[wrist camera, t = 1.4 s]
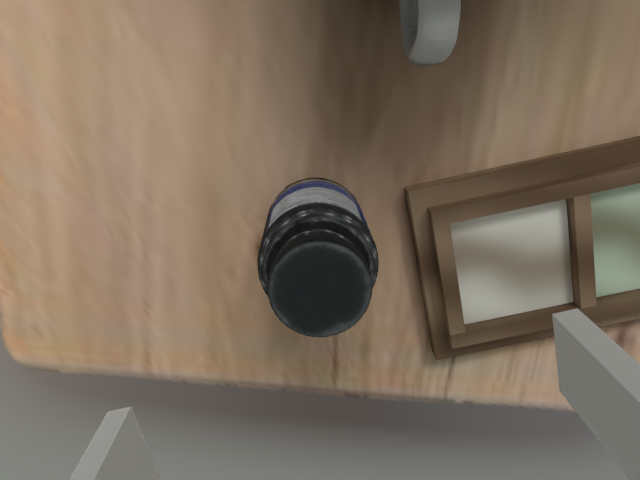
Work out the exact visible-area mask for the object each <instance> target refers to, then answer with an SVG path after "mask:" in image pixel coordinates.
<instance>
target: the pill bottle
mask: <svg viewBox="0 0 640 480" xmlns="http://www.w3.org/2000/svg"><path fill="white" fill-rule="evenodd" d="M257 260H258V273H259V278H260V281H261V284H262V287H263V289H264V291H265V293H266V294H267V295H268V297H269V300H270V304H271V307H272V309H273V310H274V312H275V314H276V316H277V317H278V318H279V319H280V321H281V322H283V323H284V324H285V325H286V326H287V327H288V328H290V329H292V330H294V331H296V332H298V333H300V334H303V335H306V336H312V337H327V336H332V335H336V334H339V333H341V332H343V331H346V330H347V329H349V328H351V327H352V326H353V325H355V324H356V323H357V322H358V321H359V320H360V318H361V317H362V316H363V314H364V313H365V312H366V310H367V308H368V306H369V302H370V299H371V295H372V288H373V286H374V284H375V281H376V277H377V272H378V253H377V249H376V245H375V242H374V240H373V238H372V236H371V233H370V231H369V228H368V226H367V223H366V220H365V218H364V216H363V213H362V211H361V208H360V206H359V204H358V203H357V201H356V199H355V197H354V196H353V195H352V194H351V193H350V192H349V191H348V190H347V189H346V188H345V187H343V186H342V185H340V184H338V183H336V182H334V181H331V180H328V179H324V178H307V179H303V180H300V181H297V182H295V183H292V184H290V185H288V186H287V187H286V188H285V189H284V190H283V191H282V192H281V193H280V194H279V195H278V196H277V197H276V199H275V201H274V203H273V204H272V206H271V208H270V210H269V214H268V217H267V222H266V226H265V229H264V234H263V238H262V242H261V246H260V249H259V254H258V259H257Z"/></svg>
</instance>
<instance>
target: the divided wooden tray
mask: <svg viewBox="0 0 640 480" xmlns="http://www.w3.org/2000/svg"><path fill="white" fill-rule="evenodd" d="M405 193H406V199H407V205H408V210H409V216H410V222H411V228H412V234H413V240H414V246H415V252H416V257H417V263H418V269H419V275H420V281H421V287H422V293H423V299H424V304H425V310H426V316H427V322H428V328H429V334H430V340H431V345H432V351H433V353H434V356H435V358H436V360H440V359H445V358H450V357H454V356H459V355H464V354H469V353H474V352H479V351H484V350H489V349H494V348H499V347H503V346H508V345H513V344H518V343H523V342H528V341H533V340H538V339H543V338H548V337H552V336H554V328H553V319H552V314H554V313H559V312H563V311H568V310H572V309H577V308H578V309H579V310H580V311H581V312H582V313H583V314H584V315H586V316H587V317H588V318H589V319H590V320H591V321H592V322H593V323H594V324H596V325H597V326H598V327H601V326H606V325H611V324H616V323H621V322H626V321H631V320H636V319H640V136H638V137H633V138H629V139H624V140H619V141H615V142H610V143H606V144H601V145H597V146H592V147H587V148H583V149H578V150H574V151H569V152H564V153H560V154H555V155H551V156H546V157H542V158H537V159H532V160H528V161H523V162H519V163H514V164H510V165H505V166H500V167H496V168H491V169H487V170H482V171H477V172H473V173H468V174H464V175H459V176H455V177H450V178H445V179H441V180H436V181H432V182H427V183H423V184H418V185H413V186H409V187H405Z"/></svg>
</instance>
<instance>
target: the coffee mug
mask: <svg viewBox="0 0 640 480" xmlns="http://www.w3.org/2000/svg"><path fill="white" fill-rule="evenodd" d="M399 3H400V22H401V37H402V45H403V51H404V53H405V56H406V58H407V59H408V60H409V61H410V62H411V63H412V64H415V65H433V64H438V63H442V62H443V61H444V60H446V59H447V58H448V57H449V56H450V54H451V53H452V50H453V48H454V46H455V44H456V41H457V36H458V28H459V21H460V13H461V0H399Z"/></svg>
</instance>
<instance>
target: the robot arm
mask: <svg viewBox="0 0 640 480" xmlns="http://www.w3.org/2000/svg"><path fill="white" fill-rule="evenodd" d="M552 319H553V328H554V338H555V348H556V357H557V367H558V377H559V386H560V392H561V393H562V394H563V395H564V397H565V398H566V399H567V401H568V402H569V403H570V404H571V406H572V407H573V408H574V410H575V411H576V412H577V413H578V415H579V416H580V417H581V418H582V420H583V421H584V422H585V423H586V425H587V426H588V427H589V429H590V430H591V431H592V433H593V434H594V435H595V436H596V438H597V439H598V440H599V442H600V443H601V444H602V445H603V447H604V448H605V449H606V450H607V452H608V453H609V454H610V456H611V457H612V458H613V460H614V461H615V462H616V463H617V465H618V466H619V467H620V469H621V470H622V471H623V472H624V474H625V475H626V476H627V477H628V479H629V480H640V364H639V363H638V362H637V361H636V360H635V359H634V358H632V357H631V356H630V355H629V354H628V353H627V352H626V351H625V350H623V349H622V348H621V347H620V346H619V345H618V344H617V343H616V342H615V341H613V340H612V339H611V338H610V337H609V336H608V335H607V334H606V333H605V332H603V331H602V330H601V329H600V328H599V327H598V326H597V325H596V324H594V323H593V322H592V321H591V320H590V319H589V318H588V317H587V316H586V315H584V314H583V313H582V312H581V311H580V310H579V309H578V308H577V309H572V310H568V311H563V312H559V313H554V314H552ZM159 477H160V475H159V473H158V470H157V468H156V465H155V463H154V460H153V458H152V455H151V453H150V451H149V448H148V446H147V443H146V441H145V438H144V436H143V434H142V431H141V429H140V426H139V424H138V422H137V420H136V417H135V414H134V412H133V410H132V407H126V408H122V409H117V410H112V411H108V412H107V414H106V415H105V417H104V419H103V421H102V422H101V424H100V426H99V428H98V430H97V431H96V433H95V435H94V437H93V438H92V440H91V442H90V444H89V445H88V447H87V449H86V451H85V453H84V454H83V456H82V458H81V460H80V461H79V463H78V465H77V467H76V468H75V470H74V472H73V474H72V475H71V477H70V479H69V480H159Z"/></svg>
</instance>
